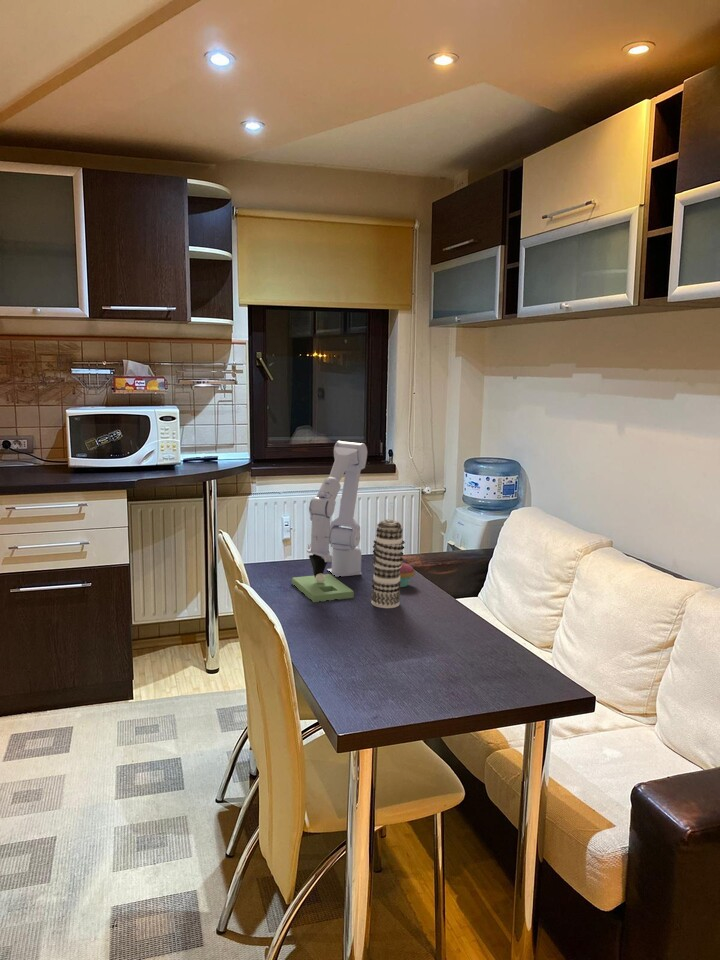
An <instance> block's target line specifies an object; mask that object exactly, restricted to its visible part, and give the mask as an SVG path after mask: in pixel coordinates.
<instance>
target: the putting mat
mask: <svg viewBox="0 0 720 960" xmlns="http://www.w3.org/2000/svg"><path fill="white" fill-rule="evenodd" d="M323 574H324V573H323ZM324 575H325V578H326V579H325V581H324V582H323V583H321V584H320V583H317V582H316V580H315V577H314V575H307V576H305V575H304V576H297V577H291V585H292V586H294V585H295V586H296V587H297V588H298V589H297V588H296V587H295V586H294V587H295V588H296V589H297V590H299V591H300V593H302V592H303V593H304V594H305V597H307V598H308V600H310V599H311V600H312V601H311V600H310V601H311V602H313V603H320V602H319V601H321V602H327V601H326V600H329V601H335V600H334V599H338V600H344V599H353V598H354V590H353V589H351V588H350V587H349V586H347V585H346V584H344V583H343V582H341V581H340V580H339V579H337V577H336V576H334V575H333V574H331V573H327V574H324ZM303 593H302V594H303Z"/></svg>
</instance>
